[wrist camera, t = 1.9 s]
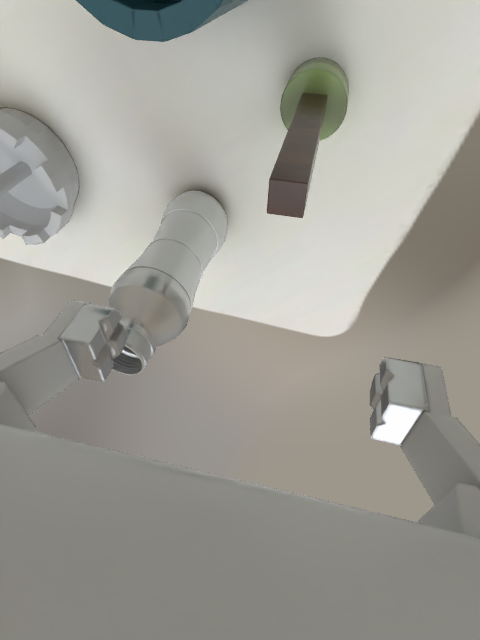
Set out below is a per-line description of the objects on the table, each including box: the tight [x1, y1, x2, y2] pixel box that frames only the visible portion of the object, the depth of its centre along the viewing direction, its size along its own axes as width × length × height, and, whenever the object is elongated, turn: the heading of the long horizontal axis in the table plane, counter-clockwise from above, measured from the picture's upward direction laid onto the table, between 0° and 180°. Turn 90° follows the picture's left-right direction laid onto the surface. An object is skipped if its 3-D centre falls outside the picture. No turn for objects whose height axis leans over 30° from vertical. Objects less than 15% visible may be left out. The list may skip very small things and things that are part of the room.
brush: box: [267, 58, 349, 218], centre depth 24 cm, size 5×5×18 cm
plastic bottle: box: [109, 191, 228, 375], centre depth 33 cm, size 6×7×20 cm
